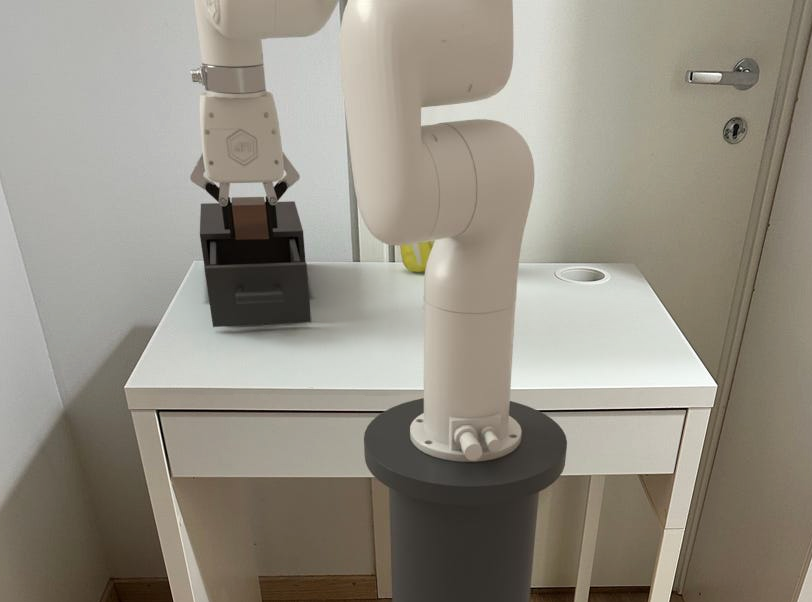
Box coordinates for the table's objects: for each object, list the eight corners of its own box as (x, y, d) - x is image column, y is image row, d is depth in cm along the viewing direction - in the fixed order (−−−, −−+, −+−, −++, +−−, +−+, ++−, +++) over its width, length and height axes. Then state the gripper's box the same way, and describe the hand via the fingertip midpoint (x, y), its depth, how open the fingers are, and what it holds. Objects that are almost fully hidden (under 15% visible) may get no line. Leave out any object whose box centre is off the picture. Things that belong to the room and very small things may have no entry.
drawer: (313, 333, 124) (309, 274, 119) (213, 338, 121) (204, 278, 117) (302, 285, 140) (297, 231, 135) (212, 289, 137) (205, 234, 132)
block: (268, 239, 124) (265, 204, 122) (236, 240, 124) (231, 205, 121) (267, 230, 128) (264, 196, 125) (235, 231, 127) (231, 197, 124)
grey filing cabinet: (308, 298, 138) (303, 230, 132) (209, 302, 135) (199, 234, 129) (299, 263, 151) (294, 201, 145) (209, 266, 149) (200, 203, 143)
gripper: (164, 85, 110) (188, 244, 121) (305, 85, 113) (315, 240, 124) (166, 76, 115) (189, 228, 127) (300, 76, 119) (311, 225, 130)
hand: (251, 233), depth 125 cm, fingers closed on block, 4 cm apart
